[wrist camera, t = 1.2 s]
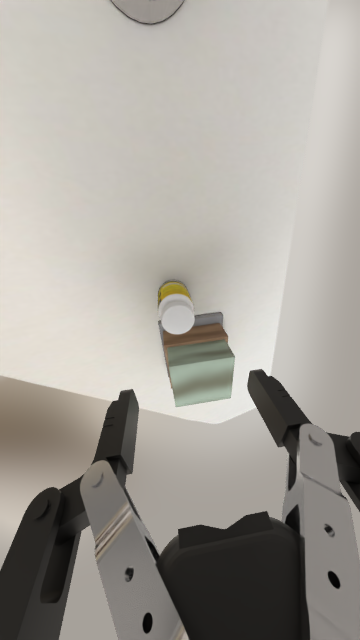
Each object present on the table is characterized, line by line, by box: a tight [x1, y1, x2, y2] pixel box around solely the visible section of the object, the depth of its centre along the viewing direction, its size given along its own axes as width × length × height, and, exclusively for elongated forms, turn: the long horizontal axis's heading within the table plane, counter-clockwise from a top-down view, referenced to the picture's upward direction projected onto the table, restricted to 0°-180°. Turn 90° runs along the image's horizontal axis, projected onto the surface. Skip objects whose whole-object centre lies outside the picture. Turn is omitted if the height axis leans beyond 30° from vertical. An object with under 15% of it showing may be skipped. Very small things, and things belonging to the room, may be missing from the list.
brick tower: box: [163, 323, 235, 407], centre depth 28 cm, size 10×10×8 cm
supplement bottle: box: [158, 280, 195, 334], centre depth 23 cm, size 5×5×8 cm
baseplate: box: [159, 312, 223, 377], centre depth 32 cm, size 13×11×1 cm
